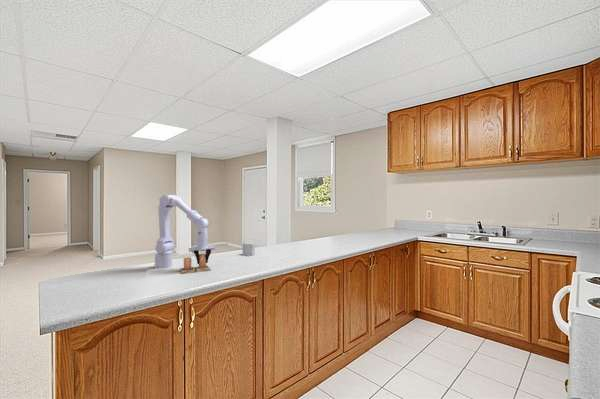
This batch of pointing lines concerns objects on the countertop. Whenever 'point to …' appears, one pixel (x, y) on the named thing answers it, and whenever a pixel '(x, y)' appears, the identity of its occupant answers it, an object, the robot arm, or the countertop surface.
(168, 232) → the robot arm
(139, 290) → the countertop surface
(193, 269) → the board
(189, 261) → the peg
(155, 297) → the countertop surface
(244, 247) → the medicine box
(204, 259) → the terracotta peg
